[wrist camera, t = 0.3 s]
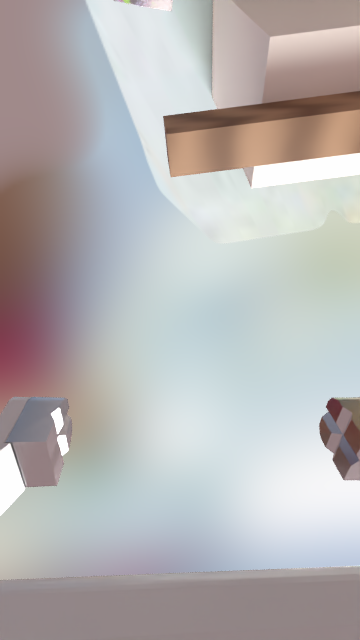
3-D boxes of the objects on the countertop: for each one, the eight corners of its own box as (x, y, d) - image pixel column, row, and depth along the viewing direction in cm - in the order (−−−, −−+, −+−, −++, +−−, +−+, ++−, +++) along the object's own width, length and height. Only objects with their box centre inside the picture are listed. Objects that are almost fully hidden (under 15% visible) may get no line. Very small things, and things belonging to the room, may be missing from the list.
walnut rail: (167, 157, 29) (170, 177, 27) (163, 116, 26) (166, 134, 24) (398, 128, 29) (419, 145, 27) (419, 83, 26) (444, 98, 24)
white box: (211, 96, 47) (251, 188, 32) (212, -17, 38) (270, 37, 22) (326, 82, 47) (420, 166, 32) (356, -36, 38) (512, 5, 22)
